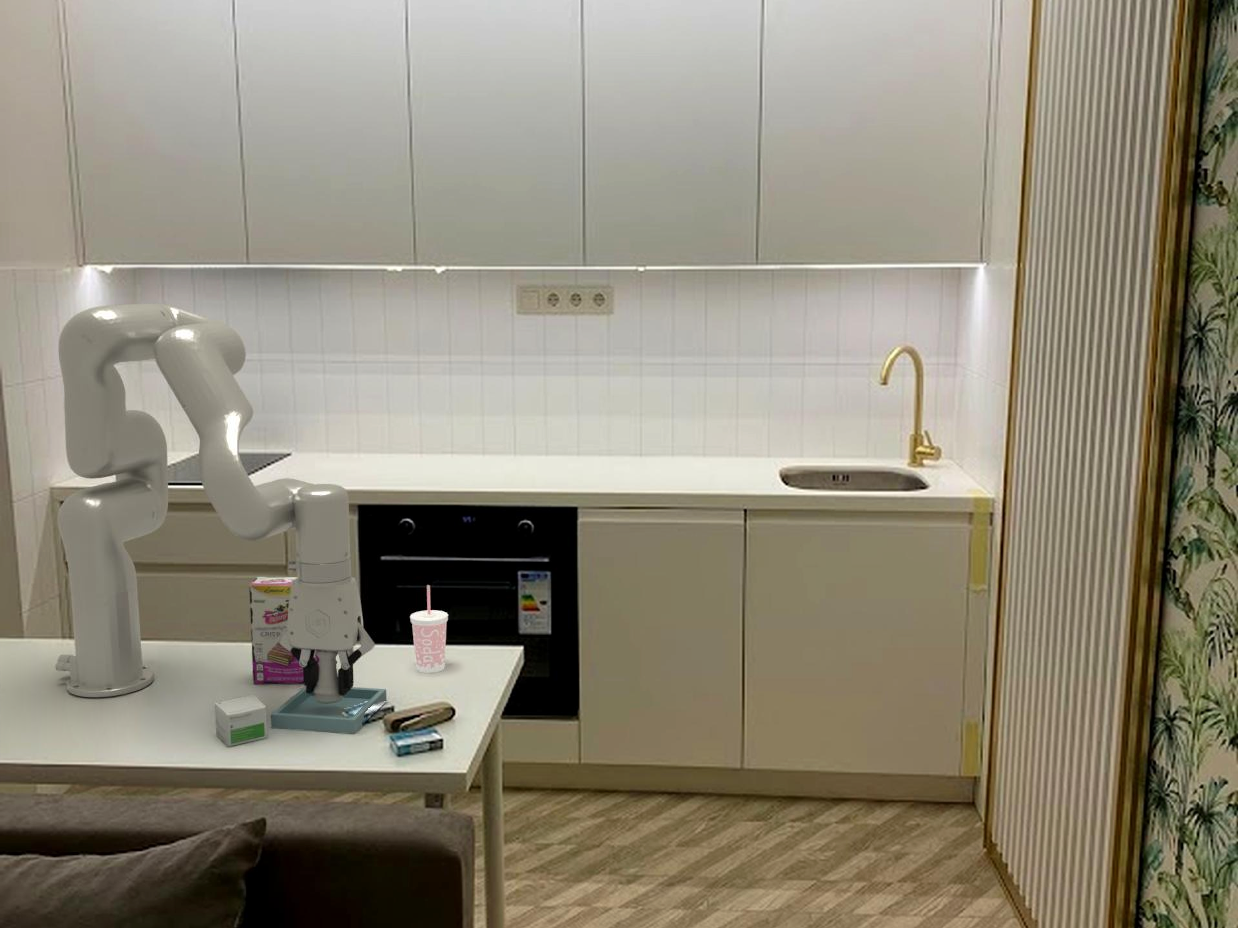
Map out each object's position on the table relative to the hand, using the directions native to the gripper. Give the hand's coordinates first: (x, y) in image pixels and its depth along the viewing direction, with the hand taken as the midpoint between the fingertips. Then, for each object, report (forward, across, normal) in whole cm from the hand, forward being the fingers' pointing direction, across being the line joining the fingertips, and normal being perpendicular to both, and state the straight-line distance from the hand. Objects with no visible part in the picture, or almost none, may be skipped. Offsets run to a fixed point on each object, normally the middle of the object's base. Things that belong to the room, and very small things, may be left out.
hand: (328, 689), depth 175 cm
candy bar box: (+4, -12, +13) cm, 18 cm away
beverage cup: (+4, +8, +22) cm, 24 cm away
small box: (+4, -9, -10) cm, 14 cm away
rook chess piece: (+2, 0, 0) cm, 2 cm away
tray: (+4, 0, 0) cm, 4 cm away
